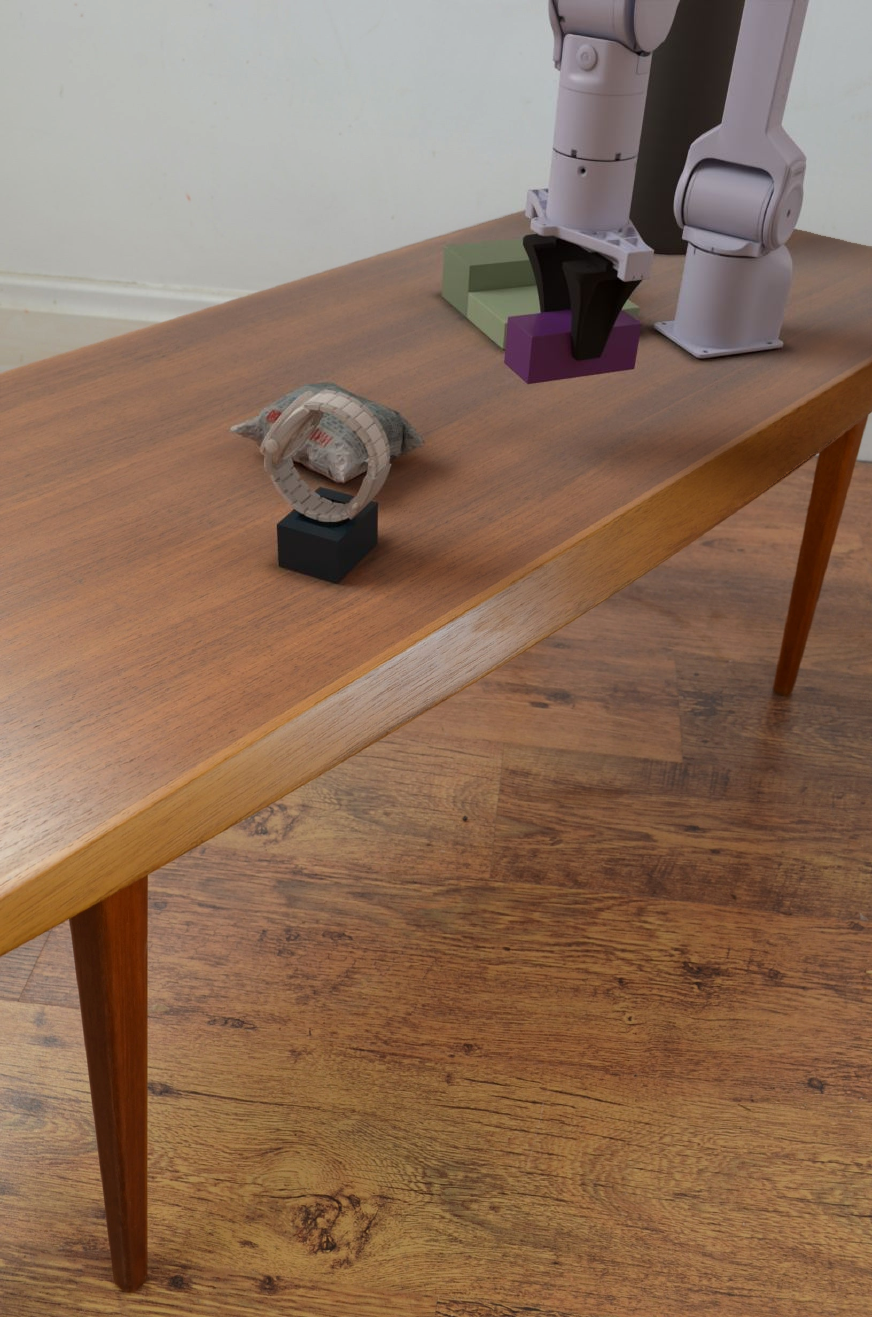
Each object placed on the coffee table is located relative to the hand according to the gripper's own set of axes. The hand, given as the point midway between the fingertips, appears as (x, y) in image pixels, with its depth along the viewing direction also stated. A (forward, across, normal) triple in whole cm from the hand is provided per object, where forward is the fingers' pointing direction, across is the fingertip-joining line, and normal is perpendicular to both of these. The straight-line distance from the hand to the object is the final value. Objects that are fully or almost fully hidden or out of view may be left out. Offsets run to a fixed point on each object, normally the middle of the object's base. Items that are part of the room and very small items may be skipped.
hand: (571, 345), depth 85 cm
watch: (+8, +10, -22) cm, 26 cm away
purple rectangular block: (+2, 0, 0) cm, 2 cm away
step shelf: (+8, -26, +10) cm, 29 cm away
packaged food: (+8, -2, -18) cm, 20 cm away
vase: (+8, -43, +36) cm, 56 cm away
